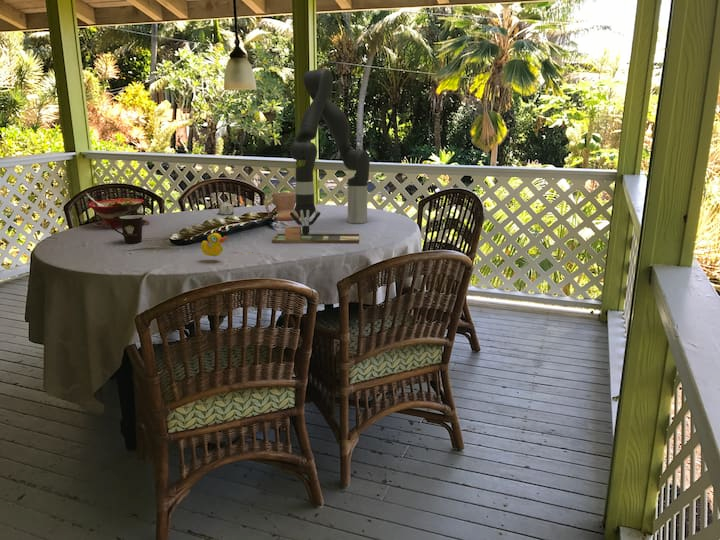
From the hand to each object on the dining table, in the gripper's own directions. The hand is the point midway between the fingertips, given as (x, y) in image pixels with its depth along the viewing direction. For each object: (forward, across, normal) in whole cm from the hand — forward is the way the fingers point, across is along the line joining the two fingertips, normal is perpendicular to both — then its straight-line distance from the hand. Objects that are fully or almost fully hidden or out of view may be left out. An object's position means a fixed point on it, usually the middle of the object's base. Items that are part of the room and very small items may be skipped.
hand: (305, 234), depth 237 cm
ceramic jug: (+2, +14, -42) cm, 44 cm away
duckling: (+2, +30, +30) cm, 43 cm away
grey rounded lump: (+2, +44, -50) cm, 67 cm away
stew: (+2, +88, -27) cm, 92 cm away
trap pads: (+2, -5, 0) cm, 5 cm away
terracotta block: (+2, +5, 0) cm, 5 cm away
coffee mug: (+2, +71, +4) cm, 71 cm away
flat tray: (+2, -5, 0) cm, 5 cm away
